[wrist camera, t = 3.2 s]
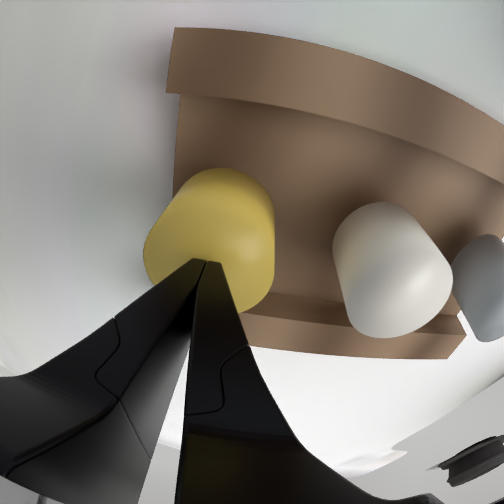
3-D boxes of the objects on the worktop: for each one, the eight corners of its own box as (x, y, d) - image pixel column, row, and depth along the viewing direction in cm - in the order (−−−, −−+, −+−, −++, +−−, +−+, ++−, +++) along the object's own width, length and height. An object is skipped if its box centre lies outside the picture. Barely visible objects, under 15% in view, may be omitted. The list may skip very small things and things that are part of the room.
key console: (522, 147, 10) (556, 166, 8) (431, 330, 18) (444, 361, 16) (196, 37, 10) (174, 27, 7) (177, 296, 18) (163, 333, 15)
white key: (432, 214, 11) (471, 260, 8) (397, 287, 13) (419, 340, 10) (348, 191, 11) (374, 238, 8) (320, 275, 13) (330, 333, 10)
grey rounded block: (514, 242, 11) (548, 281, 8) (481, 299, 13) (505, 341, 10) (470, 226, 11) (508, 270, 8) (435, 292, 13) (459, 341, 10)
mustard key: (284, 177, 11) (288, 221, 8) (264, 265, 13) (261, 324, 10) (176, 161, 10) (141, 197, 8) (173, 250, 13) (147, 303, 10)
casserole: (419, 466, 45) (423, 496, 38) (486, 429, 35) (495, 462, 28) (464, 459, 50) (468, 482, 43) (516, 426, 40) (523, 451, 33)
